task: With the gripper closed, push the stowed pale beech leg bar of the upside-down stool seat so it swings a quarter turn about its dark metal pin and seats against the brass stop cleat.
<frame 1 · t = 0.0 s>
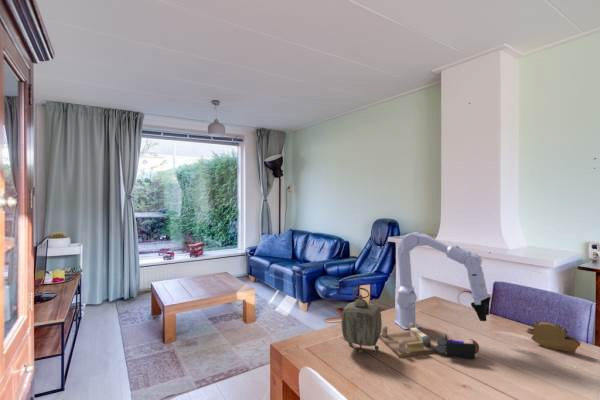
hand: (484, 317, 128), 11 cm above the table, tool pointing down, fingers open, 7 cm apart
leg bar: (420, 336, 129), point 3 cm above the table, hinge at 0.0°
wooden carving: (552, 348, 123), on the table
green bag: (361, 351, 125), on the table
stool seat: (407, 344, 129), on the table
character figurine: (457, 356, 119), on the table
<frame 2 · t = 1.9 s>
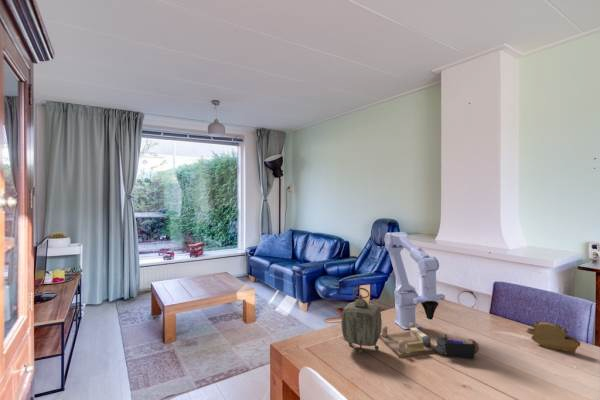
hand: (429, 318, 132), 9 cm above the table, tool pointing down, fingers closed
nothing on the table moved.
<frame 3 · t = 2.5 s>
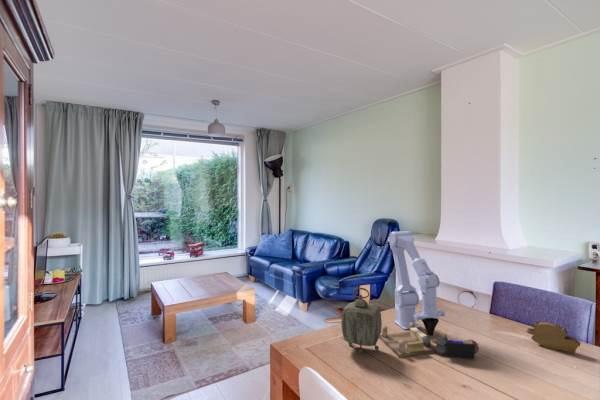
hand: (430, 335, 132), 2 cm above the table, tool pointing down, fingers closed
nothing on the table moved.
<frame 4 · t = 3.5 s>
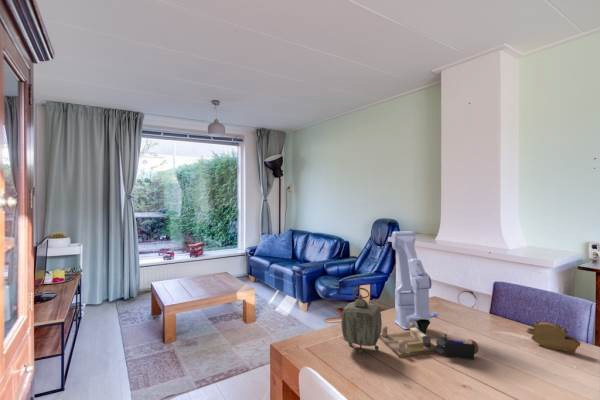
hand: (422, 336, 131), 2 cm above the table, tool pointing down, fingers closed, pressing on leg bar
leg bar: (420, 336, 129), point 3 cm above the table, hinge at 0.7°, touching gripper
everything else where it was.
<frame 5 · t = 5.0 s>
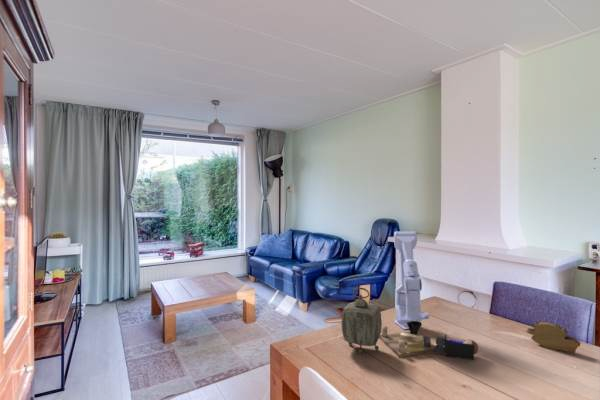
hand: (413, 338, 130), 2 cm above the table, tool pointing down, fingers closed, pressing on leg bar
leg bar: (415, 339, 127), point 3 cm above the table, hinge at 52.0°, touching gripper
everything else where it was.
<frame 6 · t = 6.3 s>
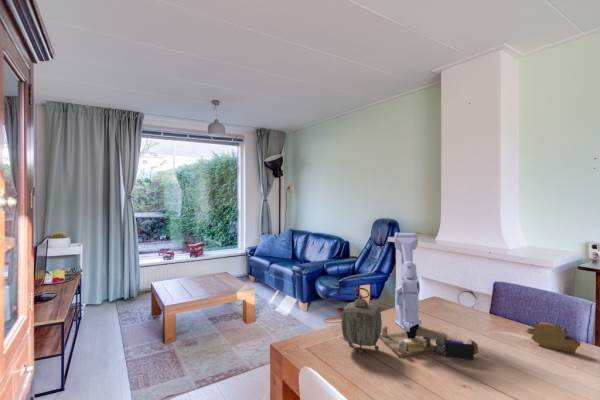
hand: (411, 342, 127), 2 cm above the table, tool pointing down, fingers closed, pressing on leg bar
leg bar: (417, 342, 124), point 3 cm above the table, hinge at 91.1°, touching gripper
everything else where it was.
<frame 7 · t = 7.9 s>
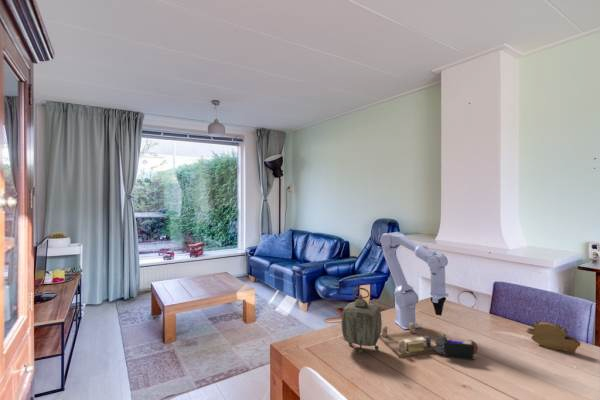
hand: (438, 314, 134), 10 cm above the table, tool pointing down, fingers closed
leg bar: (417, 342, 124), point 3 cm above the table, hinge at 91.6°
everything else where it was.
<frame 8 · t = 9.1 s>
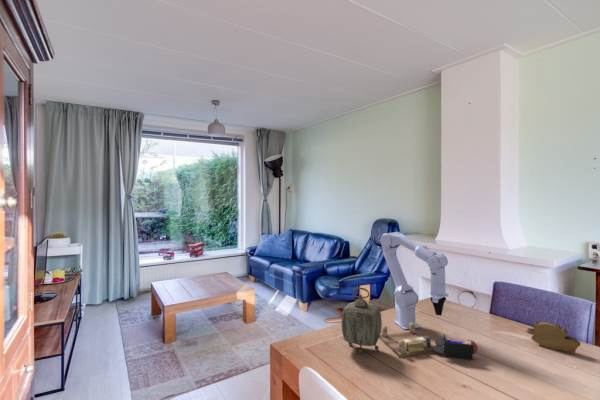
hand: (438, 314, 134), 10 cm above the table, tool pointing down, fingers closed
nothing on the table moved.
at the end: leg bar at +92° (first picture: +0°); the gripper is holding nothing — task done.
